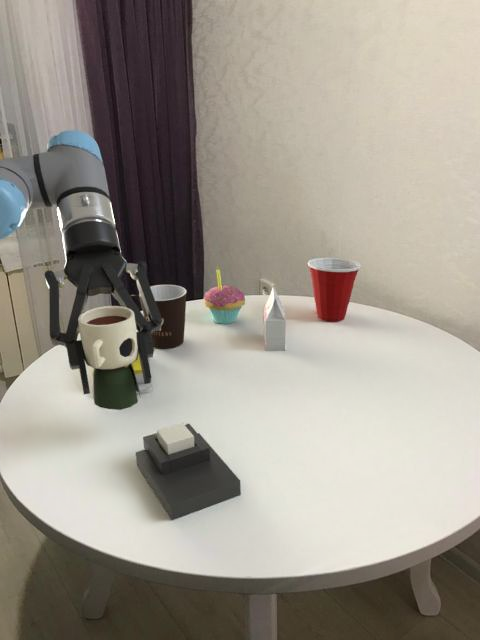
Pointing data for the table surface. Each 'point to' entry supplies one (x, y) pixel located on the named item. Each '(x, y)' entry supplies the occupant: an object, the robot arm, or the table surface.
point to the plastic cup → (332, 286)
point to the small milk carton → (274, 323)
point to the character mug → (111, 355)
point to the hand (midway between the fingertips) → (117, 385)
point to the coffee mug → (168, 315)
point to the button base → (186, 476)
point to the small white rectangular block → (175, 438)
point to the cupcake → (224, 302)
